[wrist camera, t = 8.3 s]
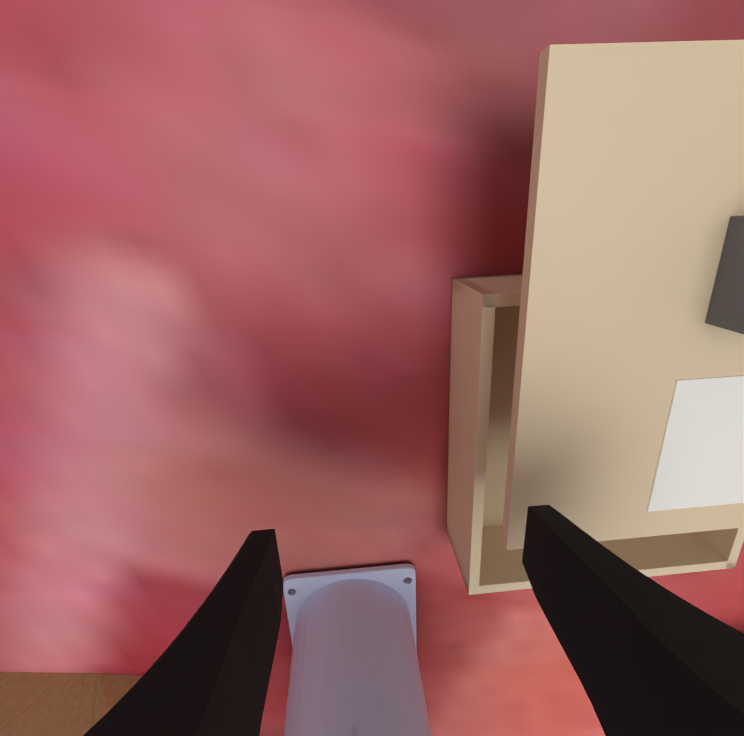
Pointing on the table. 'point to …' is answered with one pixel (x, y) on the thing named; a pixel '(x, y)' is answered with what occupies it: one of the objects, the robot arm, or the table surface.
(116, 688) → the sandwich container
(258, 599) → the robot arm
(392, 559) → the table surface
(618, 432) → the carton lid
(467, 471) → the carton
